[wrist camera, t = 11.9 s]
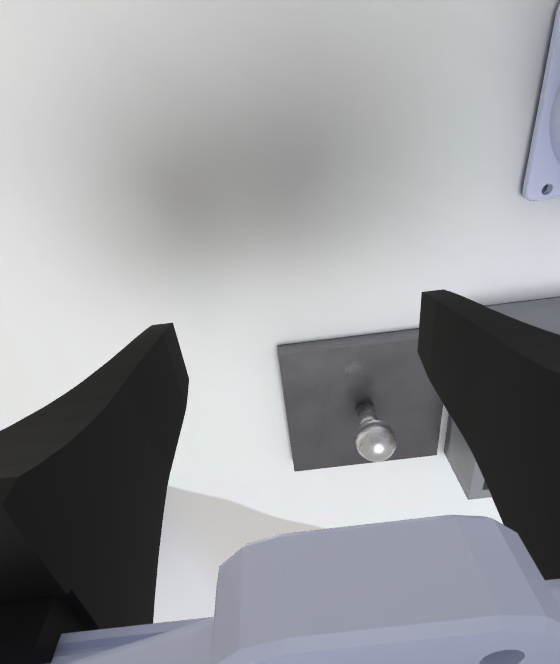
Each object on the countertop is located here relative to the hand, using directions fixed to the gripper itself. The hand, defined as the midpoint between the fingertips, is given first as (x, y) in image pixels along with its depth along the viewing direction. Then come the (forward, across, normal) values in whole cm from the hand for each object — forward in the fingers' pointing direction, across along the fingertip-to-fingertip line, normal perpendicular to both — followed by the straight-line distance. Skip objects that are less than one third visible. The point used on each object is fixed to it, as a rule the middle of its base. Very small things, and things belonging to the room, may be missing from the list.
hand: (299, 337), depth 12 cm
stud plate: (+10, -4, +12) cm, 16 cm away
